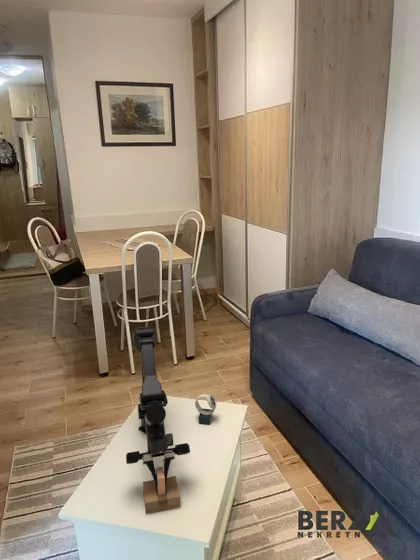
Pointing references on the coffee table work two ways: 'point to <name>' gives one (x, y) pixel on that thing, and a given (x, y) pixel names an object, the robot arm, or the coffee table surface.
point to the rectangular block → (160, 481)
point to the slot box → (161, 502)
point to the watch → (206, 414)
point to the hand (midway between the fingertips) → (161, 485)
